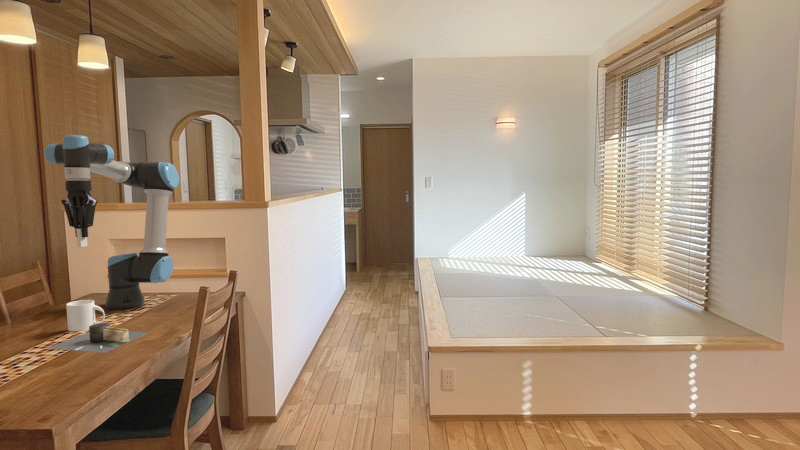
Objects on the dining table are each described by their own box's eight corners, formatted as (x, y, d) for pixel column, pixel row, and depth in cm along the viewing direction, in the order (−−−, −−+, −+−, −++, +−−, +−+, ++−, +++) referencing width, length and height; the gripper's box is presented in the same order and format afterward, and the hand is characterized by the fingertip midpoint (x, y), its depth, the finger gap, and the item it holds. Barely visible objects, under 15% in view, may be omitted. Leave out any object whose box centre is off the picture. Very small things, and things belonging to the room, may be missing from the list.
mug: (101, 332, 173) (99, 304, 172) (64, 335, 170) (62, 306, 169) (109, 325, 182) (107, 298, 180) (73, 328, 178) (71, 300, 177)
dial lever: (85, 341, 159) (84, 327, 159) (101, 336, 165) (100, 322, 165) (120, 346, 155) (120, 331, 155) (135, 340, 161) (134, 325, 160)
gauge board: (97, 332, 173) (97, 328, 173) (149, 336, 169) (149, 332, 169) (46, 351, 154) (46, 347, 154) (104, 356, 150) (104, 352, 149)
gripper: (52, 180, 163) (57, 247, 165) (84, 179, 160) (89, 248, 163) (71, 180, 170) (76, 244, 173) (102, 179, 168) (106, 245, 170)
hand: (82, 246), depth 168 cm, fingers closed
